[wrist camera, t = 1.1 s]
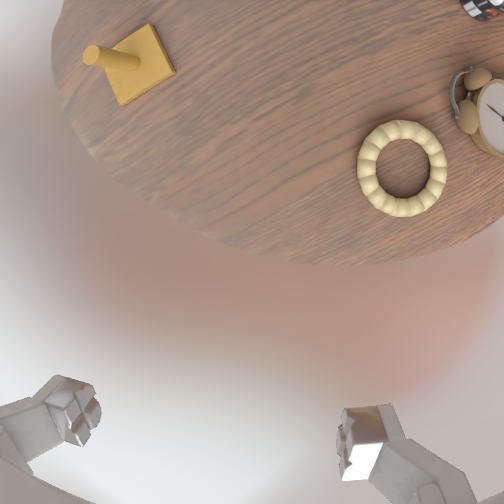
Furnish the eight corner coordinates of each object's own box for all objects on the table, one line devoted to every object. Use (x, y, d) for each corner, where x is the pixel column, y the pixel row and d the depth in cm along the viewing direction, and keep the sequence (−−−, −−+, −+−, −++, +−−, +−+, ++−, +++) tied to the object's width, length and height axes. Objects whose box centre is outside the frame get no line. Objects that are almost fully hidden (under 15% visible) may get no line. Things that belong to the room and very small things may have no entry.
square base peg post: (152, 25, 33) (109, 4, 23) (176, 73, 36) (135, 61, 26) (104, 58, 36) (54, 50, 26) (125, 105, 39) (75, 106, 28)
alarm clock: (517, 173, 31) (452, 122, 29) (497, 164, 35) (431, 118, 33) (536, 108, 26) (474, 47, 24) (515, 103, 30) (452, 49, 28)
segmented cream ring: (426, 109, 33) (433, 109, 31) (451, 197, 37) (458, 201, 35) (341, 137, 37) (343, 138, 35) (372, 225, 41) (376, 231, 39)
